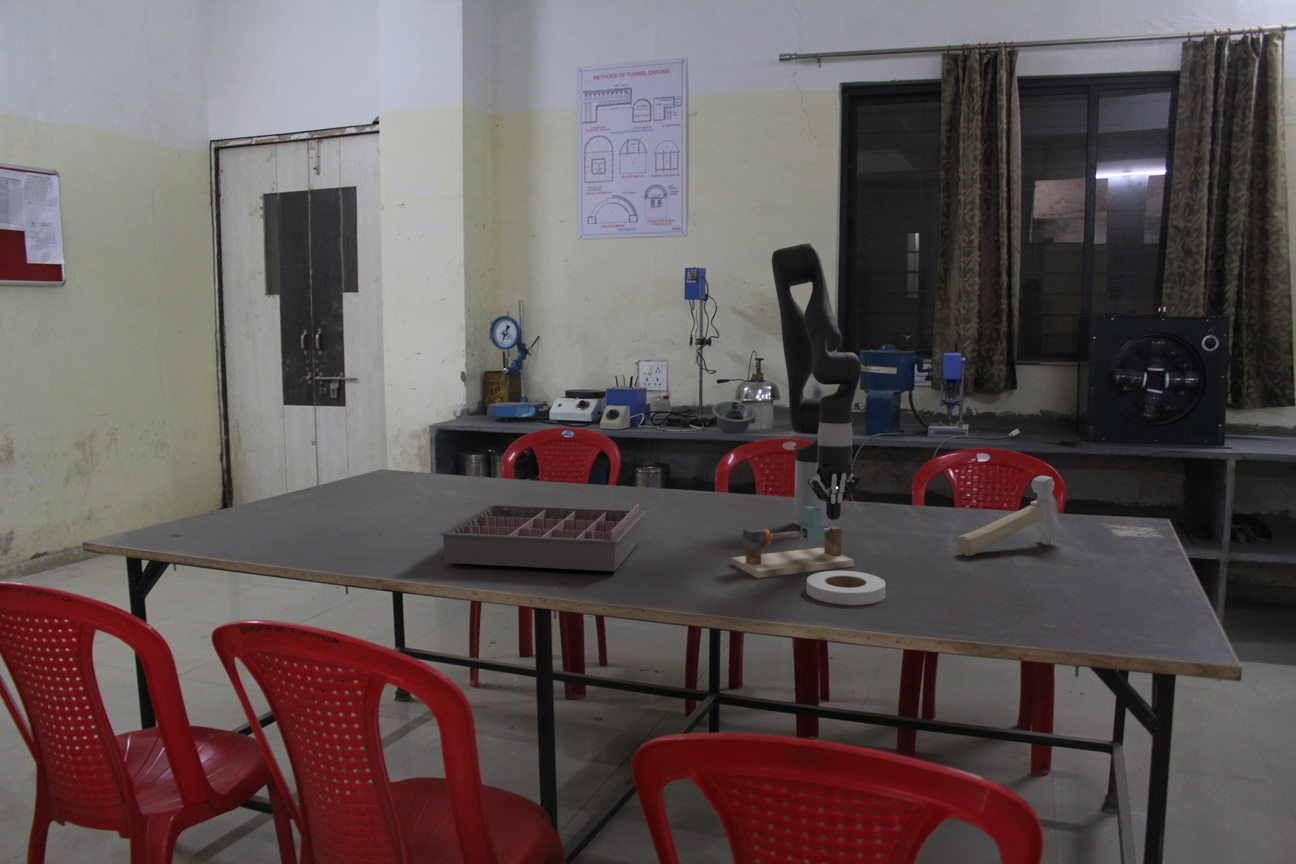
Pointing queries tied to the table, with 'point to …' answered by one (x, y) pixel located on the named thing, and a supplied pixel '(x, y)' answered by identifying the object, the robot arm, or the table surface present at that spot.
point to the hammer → (1018, 521)
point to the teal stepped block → (812, 524)
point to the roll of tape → (846, 587)
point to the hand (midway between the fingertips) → (833, 519)
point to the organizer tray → (545, 537)
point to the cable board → (790, 554)
